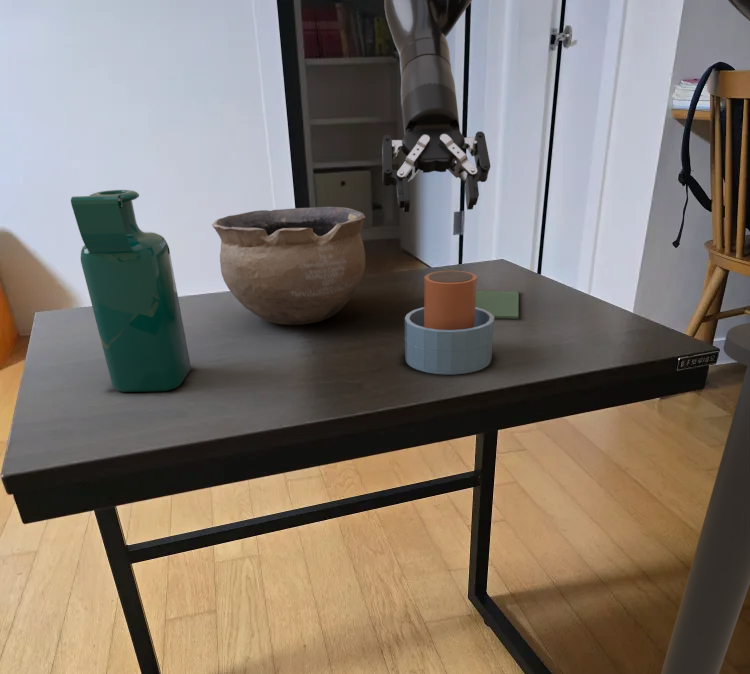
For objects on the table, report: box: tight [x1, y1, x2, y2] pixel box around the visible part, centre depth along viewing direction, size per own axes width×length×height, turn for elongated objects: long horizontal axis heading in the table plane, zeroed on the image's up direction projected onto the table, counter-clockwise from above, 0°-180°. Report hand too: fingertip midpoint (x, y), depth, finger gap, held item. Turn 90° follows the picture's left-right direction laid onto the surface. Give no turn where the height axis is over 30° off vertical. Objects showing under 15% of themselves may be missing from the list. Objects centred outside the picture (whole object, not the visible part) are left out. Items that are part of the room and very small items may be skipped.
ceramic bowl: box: [211, 206, 366, 326], centre depth 101 cm, size 22×22×15 cm
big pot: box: [404, 306, 495, 376], centre depth 86 cm, size 11×11×6 cm
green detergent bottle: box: [70, 189, 192, 393], centre depth 78 cm, size 10×8×22 cm
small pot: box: [423, 270, 478, 330], centre depth 85 cm, size 6×6×10 cm
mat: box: [475, 290, 520, 320], centre depth 108 cm, size 14×14×1 cm
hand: (439, 207), depth 88 cm, fingers open, 8 cm apart
